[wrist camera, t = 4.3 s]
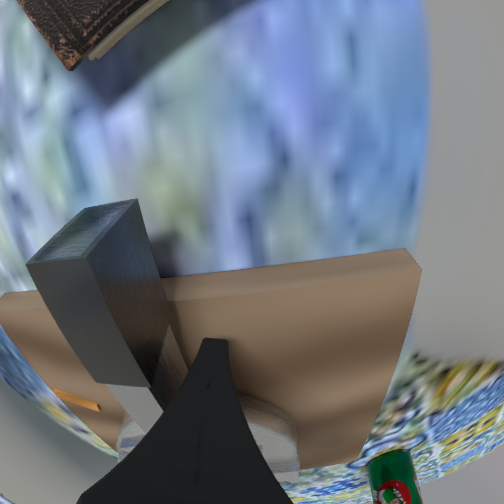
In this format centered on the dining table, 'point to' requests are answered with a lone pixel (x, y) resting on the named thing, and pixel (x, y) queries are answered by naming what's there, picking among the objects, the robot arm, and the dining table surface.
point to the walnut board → (262, 343)
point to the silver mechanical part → (133, 326)
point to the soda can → (394, 479)
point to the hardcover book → (86, 24)
